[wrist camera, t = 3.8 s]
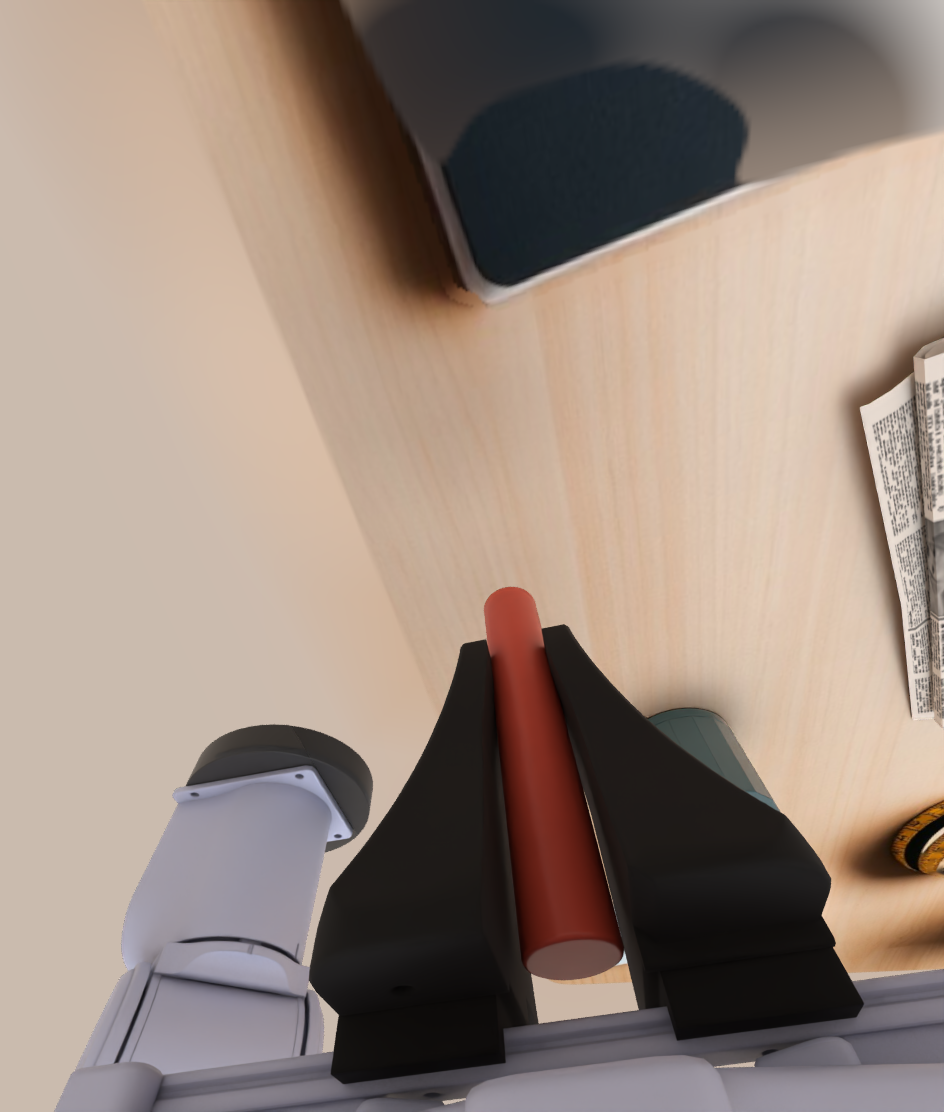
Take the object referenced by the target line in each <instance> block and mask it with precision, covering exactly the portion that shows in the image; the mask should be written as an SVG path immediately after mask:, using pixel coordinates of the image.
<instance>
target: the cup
mask: <svg viewBox="0 0 944 1112" xmlns="http://www.w3.org/2000/svg"><path fill="white" fill-rule="evenodd" d="M648 720H649V721H650V722H651V723H652V724H654V725H655V726H656V727H657V728H658V729H659V730H661V731H662V732H663V733H664V734H665V735H667V736H668V737H669V738H670V739H672V740H673V741H674V742H675V743H676V744H678V745H679V746H680V747H682V748H683V749H684V750H686V751H687V752H689V753H690V754H691V755H693V756H694V757H695V758H697V759H698V760H699V761H701V762H702V763H704V764H705V765H706V766H708V767H709V768H710V769H712V770H713V771H715V772H716V773H718V774H719V775H721V776H722V777H724V778H725V779H727V780H728V781H730V782H731V783H733V784H734V785H736V786H737V787H739V788H741V789H742V790H744V791H745V792H747V793H749V794H750V795H752V796H754V797H755V798H757V799H758V800H760V801H762V802H764V803H765V804H767V805H769V806H770V807H772V808H774V809H776V810H777V811H779V812H780V810H779V809H778V807H777V805H776V804H775V802H774V800H773V799H772V797H771V795H770V794H769V792H768V790H767V789H766V787H765V785H764V784H763V782H762V780H761V779H760V777H759V775H758V774H757V772H756V771H755V769H754V767H753V766H752V764H751V762H750V761H749V759H748V757H747V756H746V754H745V752H744V751H743V749H742V747H741V746H740V744H739V742H738V741H737V739H736V737H735V736H734V734H733V733H732V731H731V729H730V728H729V726H728V724H727V723H726V722H725V720H724V719H722V718H721V717H720V716H718V715H717V714H715V713H713V712H710V711H707V710H703V709H696V708H683V709H675V710H671V711H667V712H663V713H660V714H658V715H655V716H653V717H651V718H649V719H648Z"/></svg>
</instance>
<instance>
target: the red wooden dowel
mask: <svg viewBox="0 0 944 1112" xmlns="http://www.w3.org/2000/svg"><path fill="white" fill-rule="evenodd" d="M484 614H485V624H486V633H487V643H488V649H489V653H490V656H491V664H492V673H493V682H494V701H495V717H496V727H497V737H498V746H499V756H500V765H501V774H502V784H503V793H504V803H505V812H506V821H507V831H508V840H509V850H510V859H511V868H512V878H513V887H514V897H515V906H516V916H517V925H518V934H519V944H520V953H521V961H522V963H523V965H524V967H525V969H526V970H527V971H528V972H530V973H531V974H533V975H536V976H538V977H542V978H546V979H553V980H574V979H582V978H587V977H591V976H594V975H597V974H600V973H602V972H605V971H607V970H608V969H610V968H612V967H614V966H615V965H616V964H618V963H619V962H620V960H621V959H622V957H623V953H624V945H623V941H622V937H621V934H620V930H619V926H618V922H617V918H616V914H615V910H614V906H613V903H612V899H611V895H610V891H609V887H608V883H607V879H606V875H605V872H604V868H603V864H602V860H601V856H600V852H599V848H598V844H597V841H596V837H595V833H594V829H593V825H592V821H591V817H590V814H589V810H588V806H587V802H586V798H585V794H584V790H583V786H582V783H581V779H580V775H579V771H578V767H577V763H576V759H575V755H574V752H573V748H572V744H571V740H570V736H569V732H568V728H567V724H566V721H565V717H564V713H563V709H562V705H561V702H560V698H559V695H558V692H557V689H556V686H555V683H554V681H553V678H552V675H551V671H550V667H549V663H548V659H547V655H546V651H545V647H544V641H543V636H542V630H541V629H542V628H541V624H540V620H539V616H538V612H537V608H536V604H535V601H534V599H533V597H532V596H531V595H530V594H529V593H528V592H527V591H525V590H523V589H521V588H518V587H505V588H501V589H499V590H497V591H495V592H494V593H492V594H491V595H490V596H489V598H488V599H487V601H486V603H485V606H484Z"/></svg>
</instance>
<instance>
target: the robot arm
mask: <svg viewBox="0 0 944 1112" xmlns="http://www.w3.org/2000/svg"><path fill="white" fill-rule="evenodd" d="M541 630H542V636H543V641H544V647H545V651H546V655H547V659H548V663H549V667H550V671H551V675H552V678H553V681H554V683H555V686H556V689H557V692H558V695H559V698H560V702H561V705H562V709H563V713H564V717H565V721H566V724H567V728H568V732H569V736H570V740H571V744H572V748H573V752H574V755H575V759H576V763H577V767H578V771H579V775H580V779H581V783H582V786H583V789H584V792H585V795H586V798H587V802H588V805H589V808H590V812H591V815H592V819H593V823H594V827H595V831H596V835H597V839H598V843H599V847H600V851H601V855H602V859H603V863H604V867H605V871H606V876H607V880H608V884H609V888H610V892H611V896H612V900H613V904H614V908H615V912H616V916H617V921H618V925H619V929H620V933H621V937H622V941H623V945H624V950H625V954H626V958H627V962H628V966H629V971H630V975H631V979H632V983H633V987H634V991H635V996H636V1000H637V1004H638V1008H639V1010H637V1011H630V1012H623V1013H615V1014H608V1015H600V1016H593V1017H585V1018H578V1019H571V1020H564V1021H556V1022H549V1023H542V1024H538V1018H537V1011H536V1004H535V998H534V991H533V984H532V978H531V973H530V972H528V971H527V970H526V969H525V967H524V965H523V963H522V961H521V953H520V944H519V934H518V925H517V916H516V906H515V897H514V887H513V878H512V868H511V859H510V850H509V840H508V831H507V821H506V812H505V803H504V793H503V784H502V774H501V765H500V756H499V746H498V737H497V727H496V717H495V701H494V682H493V673H492V664H491V656H490V653H489V649H488V645H487V641H486V640H480V641H475V642H470V643H465V644H463V645H462V647H461V649H460V654H459V659H458V663H457V667H456V670H455V674H454V677H453V680H452V684H451V687H450V689H449V692H448V695H447V698H446V701H445V704H444V706H443V709H442V711H441V714H440V716H439V719H438V721H437V723H436V726H435V728H434V730H433V733H432V735H431V737H430V739H429V741H428V744H427V746H426V748H425V750H424V752H423V754H422V756H421V758H420V759H419V761H418V763H417V765H416V767H415V769H414V771H413V772H412V774H411V776H410V778H409V779H408V781H407V783H406V784H405V786H404V788H403V789H402V791H401V793H400V794H399V796H398V798H397V799H396V801H395V802H394V804H393V805H392V807H391V808H390V810H389V812H388V813H387V814H386V816H385V817H384V819H383V820H382V821H381V823H380V824H379V826H378V827H377V829H376V830H375V831H374V833H373V834H372V835H371V837H370V838H369V840H368V841H367V842H366V844H365V845H364V846H363V848H362V849H361V850H360V852H359V853H358V854H357V855H356V856H355V858H354V859H353V860H352V861H351V862H350V864H349V865H348V866H347V868H346V869H345V870H344V871H343V872H342V874H341V875H340V876H339V877H338V879H337V880H336V881H335V882H334V883H333V884H332V886H331V887H330V889H329V892H328V895H327V898H326V901H325V904H324V908H323V911H322V914H321V918H320V921H319V925H318V928H317V933H316V938H315V943H314V949H313V954H312V960H311V965H310V967H307V966H302V960H303V955H304V950H305V945H306V940H307V936H308V931H309V926H310V921H311V916H312V911H313V907H314V902H315V897H316V892H317V887H318V882H319V877H320V873H321V867H322V863H323V858H324V853H325V849H326V844H327V842H329V841H335V840H341V839H347V838H350V837H351V836H352V832H353V830H352V828H351V826H350V824H349V823H348V821H347V819H346V818H345V816H344V814H343V813H342V811H341V810H340V808H339V806H338V805H337V803H336V801H335V800H334V798H333V796H332V795H331V793H330V791H329V790H328V788H327V787H326V785H325V783H324V782H323V780H322V778H321V777H320V775H319V773H318V772H317V770H316V769H315V768H314V767H313V766H310V765H304V766H299V767H293V768H287V769H282V770H276V771H270V772H265V773H259V774H253V775H248V776H242V777H236V778H230V779H225V780H219V781H213V782H208V783H202V784H196V785H191V786H185V787H179V788H177V789H175V791H174V793H173V795H172V796H173V798H174V799H175V800H176V801H177V803H178V805H177V807H176V809H175V811H174V813H173V815H172V817H171V819H170V821H169V823H168V825H167V827H166V829H165V831H164V833H163V836H162V837H161V839H160V842H159V844H158V846H157V848H156V850H155V852H154V854H153V856H152V858H151V860H150V862H149V864H148V866H147V868H146V870H145V872H144V874H143V876H142V878H141V880H140V882H139V884H138V886H137V888H136V890H135V892H134V894H133V896H132V899H131V901H130V903H129V906H128V910H127V912H126V916H125V920H124V926H123V931H122V942H121V943H122V944H121V949H122V956H123V960H124V963H125V966H126V968H127V970H128V972H127V973H125V974H123V975H122V976H121V977H120V979H119V981H118V982H117V984H116V986H115V988H114V990H113V992H112V994H111V996H110V998H109V1000H108V1002H107V1004H106V1006H105V1008H104V1010H103V1012H102V1014H101V1016H100V1018H99V1020H98V1023H97V1024H96V1026H95V1029H94V1031H93V1033H92V1035H91V1037H90V1039H89V1041H88V1043H87V1045H86V1048H85V1050H84V1052H83V1054H82V1056H81V1058H80V1060H79V1063H78V1065H77V1067H76V1069H75V1071H74V1072H73V1073H72V1074H71V1076H70V1078H69V1080H68V1082H67V1085H66V1087H65V1089H64V1091H63V1093H62V1095H61V1097H60V1100H59V1102H58V1104H57V1106H56V1109H55V1110H54V1112H944V969H940V970H932V971H925V972H918V973H910V974H903V975H895V976H889V977H881V978H873V979H867V980H859V981H852V980H851V979H850V977H849V975H848V973H847V972H846V970H845V968H844V966H843V965H842V963H841V961H840V959H839V957H838V956H837V954H836V952H835V950H834V949H833V947H835V944H836V942H835V939H834V936H833V935H832V933H831V931H830V929H829V928H828V926H827V924H826V923H825V921H824V919H823V917H822V916H821V915H822V912H823V909H824V906H825V904H826V901H827V898H828V895H829V892H830V888H831V877H830V876H829V874H828V872H827V871H826V869H825V867H824V865H823V863H822V862H821V860H820V858H819V857H818V856H817V854H816V853H815V851H814V850H813V849H812V847H811V846H810V845H809V844H808V842H807V841H806V840H805V838H804V837H803V836H802V835H801V833H800V832H799V831H798V830H797V828H796V827H795V826H794V825H793V824H792V823H791V821H790V820H789V819H788V818H787V817H786V816H785V815H784V814H783V813H781V812H779V811H777V810H776V809H774V808H772V807H770V806H769V805H767V804H765V803H764V802H762V801H760V800H758V799H757V798H755V797H754V796H752V795H750V794H749V793H747V792H745V791H744V790H742V789H741V788H739V787H737V786H736V785H734V784H733V783H731V782H730V781H728V780H727V779H725V778H724V777H722V776H721V775H719V774H718V773H716V772H715V771H713V770H712V769H710V768H709V767H708V766H706V765H705V764H704V763H702V762H701V761H699V760H698V759H697V758H695V757H694V756H693V755H691V754H690V753H689V752H687V751H686V750H684V749H683V748H682V747H680V746H679V745H678V744H676V743H675V742H674V741H673V740H672V739H670V738H669V737H668V736H667V735H665V734H664V733H663V732H662V731H661V730H659V729H658V728H657V727H656V726H655V725H654V724H652V723H651V722H650V721H649V720H648V719H647V718H646V717H645V716H643V715H642V714H641V713H640V712H639V711H638V710H637V709H636V708H635V707H634V706H633V705H632V704H631V703H630V702H629V701H628V700H627V699H626V698H625V697H624V696H623V695H622V694H621V693H620V692H619V691H618V690H617V689H616V688H615V687H614V686H613V685H612V684H611V683H610V681H609V680H608V679H607V678H606V677H605V676H604V675H603V673H602V672H601V671H600V670H599V669H598V668H597V666H596V665H595V664H594V663H593V662H592V660H591V659H590V658H589V657H588V655H587V654H586V653H585V651H584V650H583V649H582V647H581V646H580V644H579V643H578V642H577V640H576V639H575V637H574V635H573V634H572V632H571V630H570V629H569V627H568V626H566V625H564V624H563V625H558V626H553V627H548V628H543V629H541ZM309 981H310V983H311V984H312V986H313V988H314V989H315V991H316V992H317V993H318V994H319V995H320V996H321V997H322V998H323V999H324V1000H325V1001H326V1002H327V1003H328V1004H329V1005H330V1006H331V1007H332V1008H333V1009H334V1010H335V1011H336V1012H337V1013H338V1014H339V1017H338V1024H337V1032H336V1038H335V1045H334V1052H327V1053H322V1050H323V1039H324V1019H323V1014H322V1010H321V1007H320V1003H319V999H318V996H317V994H316V993H315V991H313V990H308V989H307V988H308V982H309ZM754 1061H756V1062H755V1067H733V1068H714V1066H722V1065H730V1064H738V1063H746V1062H754ZM461 1098H466V1100H464V1101H460V1102H456V1103H452V1104H448V1105H444V1103H443V1102H442V1101H445V1100H453V1099H461Z"/></svg>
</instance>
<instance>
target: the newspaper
mask: <svg viewBox="0 0 944 1112" xmlns="http://www.w3.org/2000/svg"><path fill="white" fill-rule="evenodd" d="M913 359H914V372H913V373H912V374H910V375H909V376H908V377H907V378H905V379H904V380H903V381H902V382H900V383H899V384H898V385H897V386H895V387H894V388H893V389H892V390H890V391H889V392H887V393H885V394H884V395H882V396H881V397H879V398H877V399H876V400H874V401H873V402H871V403H869V404H867V405H864V406H861V407H860V412H861V416H862V421H863V426H864V431H865V435H866V440H867V445H868V450H869V454H870V459H871V464H872V469H873V473H874V478H875V483H876V488H877V492H878V497H879V502H880V507H881V511H882V516H883V521H884V526H885V530H886V535H887V540H888V545H889V549H890V554H891V559H892V564H893V568H894V573H895V578H896V583H897V588H898V592H899V597H900V602H901V607H902V617H903V628H904V638H905V648H906V659H907V669H908V679H909V690H910V700H911V710H912V720H925V719H933V718H934V720H935V721H936V722H937V723H938V724H939V725H940V726H941V727H942V728H944V338H942V339H939V340H937V341H935V342H932V343H930V344H927V345H925V346H923V347H922V348H921V350H920V351H919V352H918V353H917V354H916V355H915V356H914V357H913Z"/></svg>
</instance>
